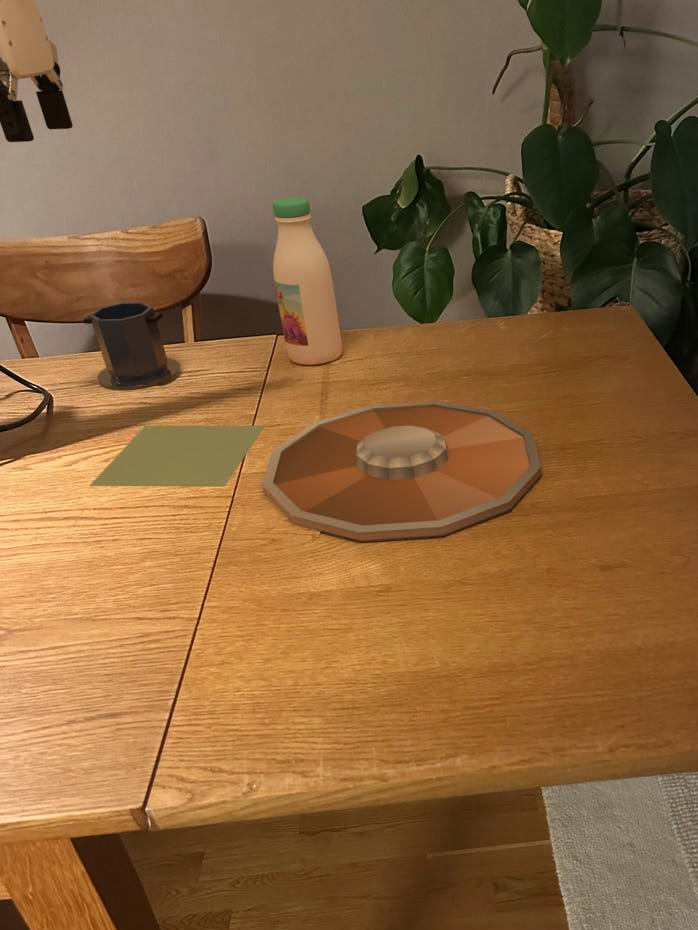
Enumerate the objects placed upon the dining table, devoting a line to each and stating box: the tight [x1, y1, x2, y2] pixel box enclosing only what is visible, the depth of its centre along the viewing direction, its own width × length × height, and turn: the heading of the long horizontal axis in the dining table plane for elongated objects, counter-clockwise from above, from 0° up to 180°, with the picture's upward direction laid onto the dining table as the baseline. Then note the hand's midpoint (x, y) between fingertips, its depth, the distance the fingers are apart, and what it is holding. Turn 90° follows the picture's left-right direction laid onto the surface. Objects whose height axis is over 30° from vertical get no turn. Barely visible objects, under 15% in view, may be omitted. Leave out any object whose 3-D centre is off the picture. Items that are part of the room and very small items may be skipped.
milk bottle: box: [272, 196, 343, 366], centre depth 112 cm, size 8×8×20 cm
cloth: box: [89, 425, 265, 488], centre depth 95 cm, size 15×15×1 cm
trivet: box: [96, 356, 182, 392], centre depth 115 cm, size 11×11×1 cm
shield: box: [261, 400, 542, 543], centre depth 89 cm, size 30×3×30 cm
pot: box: [83, 301, 168, 381], centre depth 112 cm, size 10×7×8 cm
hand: (41, 134), depth 102 cm, fingers open, 9 cm apart
